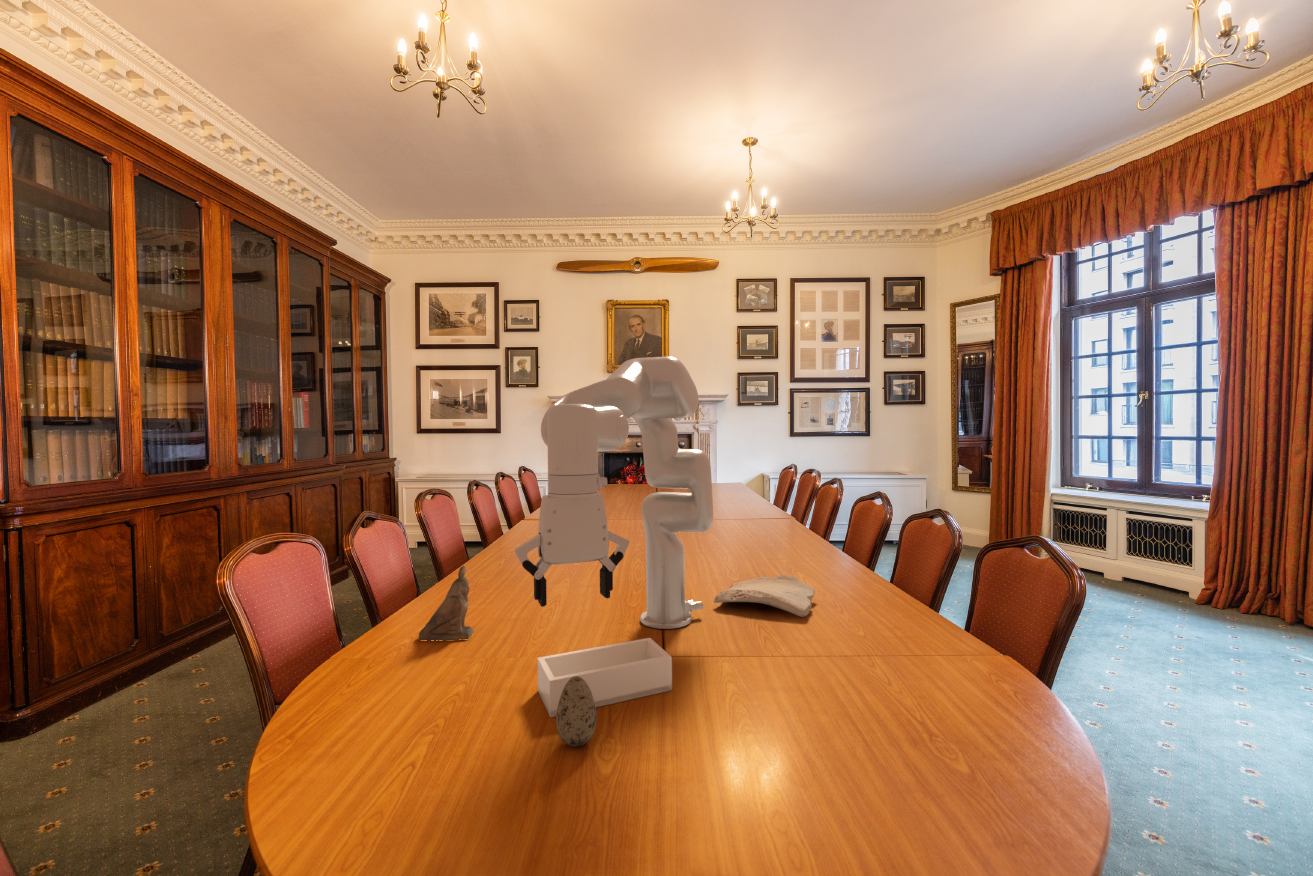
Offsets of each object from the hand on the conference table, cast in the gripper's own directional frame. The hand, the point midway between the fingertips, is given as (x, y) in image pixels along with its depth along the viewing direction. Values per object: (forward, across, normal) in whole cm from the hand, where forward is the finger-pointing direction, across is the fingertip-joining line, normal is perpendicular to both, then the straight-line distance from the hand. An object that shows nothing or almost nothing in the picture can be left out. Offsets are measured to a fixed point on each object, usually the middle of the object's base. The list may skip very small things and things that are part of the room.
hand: (574, 599), depth 80 cm
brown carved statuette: (+21, +17, -53) cm, 59 cm away
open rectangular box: (+21, -9, -13) cm, 26 cm away
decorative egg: (+21, 0, +1) cm, 21 cm away
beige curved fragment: (+21, -63, -42) cm, 79 cm away
